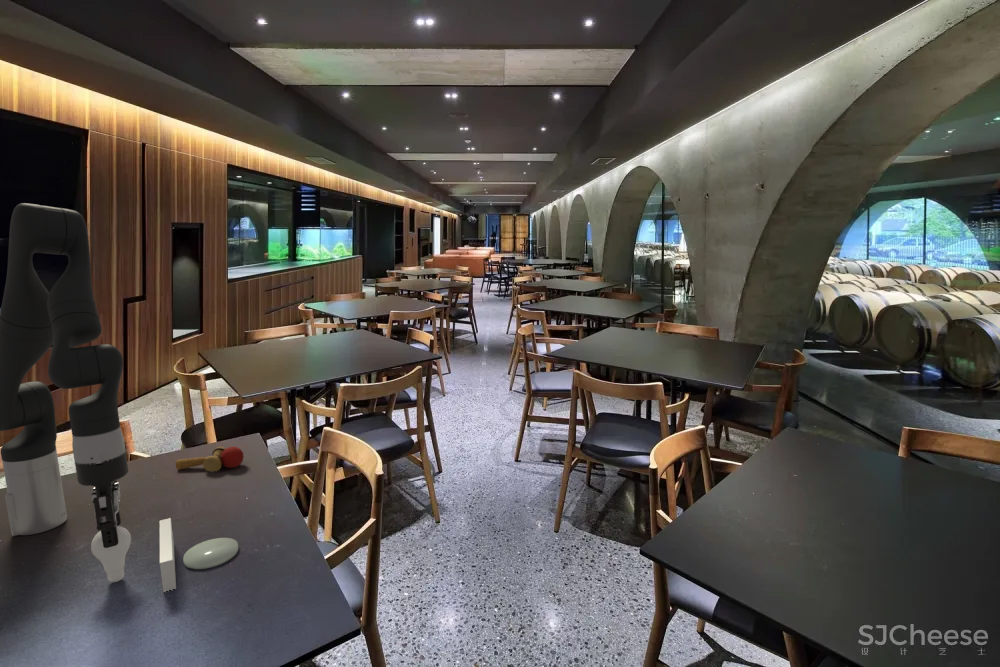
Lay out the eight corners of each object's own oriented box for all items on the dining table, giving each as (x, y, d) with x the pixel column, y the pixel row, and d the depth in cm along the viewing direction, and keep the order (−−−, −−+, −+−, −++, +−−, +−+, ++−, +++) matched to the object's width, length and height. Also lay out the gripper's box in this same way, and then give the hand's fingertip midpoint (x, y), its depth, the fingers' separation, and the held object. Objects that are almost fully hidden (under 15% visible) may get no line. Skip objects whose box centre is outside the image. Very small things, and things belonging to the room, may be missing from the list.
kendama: (172, 480, 148) (238, 468, 149) (168, 458, 148) (234, 446, 149) (186, 473, 155) (249, 462, 157) (183, 452, 155) (245, 441, 157)
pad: (184, 575, 103) (184, 571, 103) (182, 550, 111) (182, 547, 111) (241, 558, 108) (241, 555, 108) (235, 536, 116) (235, 533, 116)
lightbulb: (120, 591, 98) (113, 536, 96) (88, 591, 98) (80, 536, 96) (143, 571, 104) (136, 519, 102) (112, 571, 104) (105, 519, 102)
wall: (163, 592, 98) (159, 563, 97) (162, 546, 113) (159, 520, 112) (176, 589, 99) (172, 559, 98) (173, 543, 114) (170, 517, 113)
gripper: (79, 446, 101) (91, 525, 104) (69, 472, 89) (83, 560, 92) (126, 438, 105) (137, 514, 108) (123, 461, 93) (135, 546, 96)
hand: (112, 535), depth 100 cm, fingers open, 8 cm apart
